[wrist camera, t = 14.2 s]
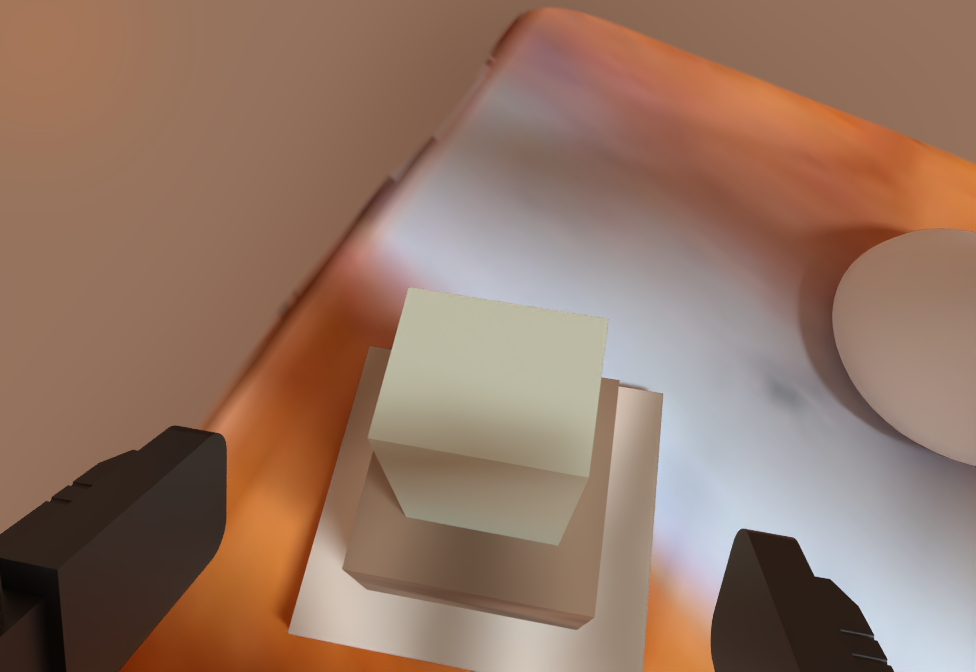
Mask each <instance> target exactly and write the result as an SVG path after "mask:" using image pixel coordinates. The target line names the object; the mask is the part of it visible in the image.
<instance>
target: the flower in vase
mask: <svg viewBox="0 0 976 672" xmlns="http://www.w3.org/2000/svg"><path fill="white" fill-rule="evenodd" d="M832 320H833V332H834V337H835V342H836V346H837V349H838V352H839V355H840V357H841V360H842V362H843V365H844V367H845V369H846V371H847V373H848V375H849V377H850V379H851V380H852V382H853V384H854V385H855V387H856V388H857V390H858V391H859V393H860V394H861V395H862V397H863V398H864V399H865V400H866V401H867V403H868V404H869V405H870V406H871V407H872V408H873V409H874V410H875V411H876V412H877V413H878V414H879V415H880V416H881V417H882V418H883V419H884V420H885V421H887V422H888V423H889V424H890V425H891V426H893V427H894V428H895V429H896V430H898V431H899V432H901V433H902V434H904V435H905V436H907V437H908V438H910V439H911V440H913V441H914V442H916V443H918V444H920V445H922V446H924V447H926V448H928V449H930V450H932V451H934V452H936V453H938V454H940V455H943V456H945V457H948V458H950V459H953V460H956V461H959V462H963V463H966V464H970V465H973V466H976V232H972V231H965V230H958V229H940V228H938V229H925V230H919V231H914V232H909V233H906V234H903V235H900V236H897V237H894V238H891V239H889V240H886V241H884V242H882V243H880V244H878V245H876V246H874V247H872V248H870V249H869V250H867V251H866V252H865V253H863V254H862V255H860V256H859V257H858V258H857V259H856V260H855V261H854V262H853V263H852V264H851V265H850V267H849V268H848V269H847V271H846V272H845V274H844V275H843V277H842V279H841V281H840V283H839V285H838V287H837V291H836V294H835V298H834V303H833V312H832Z"/></svg>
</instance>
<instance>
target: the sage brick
mask: <svg viewBox="0 0 976 672" xmlns="http://www.w3.org/2000/svg"><path fill="white" fill-rule="evenodd" d="M608 320H609V319H605V318H599V317H593V316H586V315H580V314H574V313H568V312H561V311H555V310H549V309H543V308H536V307H530V306H524V305H518V304H511V303H505V302H499V301H492V300H486V299H480V298H474V297H467V296H461V295H455V294H449V293H442V292H436V291H430V290H424V289H417V288H411V287H409V288H408V292H407V296H406V299H405V303H404V307H403V310H402V314H401V317H400V321H399V325H398V328H397V332H396V336H395V339H394V343H393V347H392V350H391V354H390V357H389V361H388V365H387V368H386V372H385V376H384V379H383V383H382V387H381V390H380V394H379V398H378V401H377V405H376V408H375V412H374V416H373V419H372V423H371V427H370V430H369V434H368V440H369V442H370V444H371V446H372V448H373V450H374V453H375V455H376V457H377V459H378V461H379V463H380V465H381V467H382V469H383V471H384V473H385V475H386V477H387V479H388V481H389V483H390V485H391V487H392V489H393V491H394V494H395V496H396V498H397V500H398V502H399V504H400V506H401V508H402V510H403V512H404V514H405V516H406V517H409V518H414V519H419V520H425V521H430V522H435V523H441V524H446V525H451V526H457V527H462V528H467V529H472V530H478V531H483V532H488V533H494V534H499V535H504V536H510V537H515V538H520V539H525V540H531V541H536V542H541V543H547V544H552V545H557V546H558V545H559V542H560V540H561V538H562V536H563V534H564V531H565V529H566V527H567V525H568V523H569V521H570V518H571V516H572V514H573V512H574V510H575V507H576V505H577V503H578V501H579V499H580V496H581V494H582V492H583V490H584V488H585V485H586V483H587V481H588V479H589V473H590V465H591V457H592V449H593V441H594V433H595V425H596V417H597V409H598V400H599V392H600V384H601V376H602V368H603V360H604V352H605V344H606V336H607V328H608Z"/></svg>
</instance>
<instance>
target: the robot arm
mask: <svg viewBox="0 0 976 672" xmlns="http://www.w3.org/2000/svg"><path fill="white" fill-rule="evenodd" d="M226 474H227V449H226V441H225V439H224V437H223V435H221V434H219V433H215V432H209V431H203V430H198V429H192V428H187V427H181V426H171V427H169V428H168V429H166V430H165V431H164V432H162V433H161V434H160V435H158V436H157V437H156V438H155V439H153V440H152V441H151V442H149V443H148V444H147V445H145V446H144V447H143V448H141V449H140V450H139V451H136V450H131V451H128V452H126V453H123V454H121V455H118V456H116V457H114V458H111V459H108V460H106V461H103V462H100V463H98V464H97V465H96V466H94V467H93V468H91V469H90V470H89V471H87V472H86V473H84V474H83V475H82V476H80V477H79V478H77V479H76V480H75V481H73V485H72V486H69V485H68V486H67V487H65V488H64V489H62V490H61V491H60V492H58V493H57V494H55V495H54V496H53V497H52V499H51V501H50V502H47V501H46V502H44V503H43V504H42V505H40V506H39V507H37V508H36V509H35V510H33V511H32V512H31V513H29V514H28V515H26V516H25V517H24V518H22V519H21V520H20V521H18V522H17V523H15V524H14V525H13V526H11V527H10V528H9V529H7V530H6V531H4V532H3V533H2V534H0V672H119V670H120V669H121V668H122V667H123V666H124V664H125V663H126V662H127V661H128V660H129V658H130V657H131V656H132V655H133V654H134V652H135V651H136V650H137V649H138V648H139V646H140V645H141V644H142V643H143V642H144V640H145V639H146V638H147V637H148V636H149V634H150V633H151V632H152V631H153V630H154V628H155V627H156V626H157V625H158V624H159V622H160V621H161V620H162V619H163V618H164V616H165V615H166V614H167V613H168V612H169V610H170V609H171V608H172V607H173V606H174V604H175V603H176V602H177V601H178V600H179V598H180V597H181V596H182V595H183V594H184V592H185V591H186V590H187V589H188V588H189V586H190V585H191V584H192V583H193V582H194V580H195V579H196V578H197V577H198V576H199V574H200V573H201V572H202V571H203V570H204V568H205V567H206V566H207V565H208V564H209V562H210V561H211V560H212V559H213V557H214V556H215V554H216V552H217V550H218V548H219V546H220V544H221V541H222V538H223V535H224V531H225V525H226ZM711 654H712V661H713V665H714V669H715V672H894V671H893V669H892V667H891V666H889V665H887V658H886V656H885V654H884V652H883V650H882V649H881V647H880V645H879V643H878V641H875V640H874V634H873V632H872V630H871V628H870V627H869V625H868V623H867V621H866V619H865V617H864V616H863V614H862V612H861V610H860V608H859V606H858V605H857V604H855V603H854V602H853V601H852V600H851V599H850V598H849V597H848V596H847V595H846V594H845V593H844V592H843V591H842V590H841V589H840V588H839V587H838V586H837V585H836V584H835V583H834V582H833V581H831V580H830V579H826V578H820V577H815V576H814V574H813V572H812V570H811V568H810V566H809V564H808V562H807V560H806V558H805V556H804V554H803V552H802V550H801V548H800V546H799V544H798V542H797V540H796V539H795V538H793V537H787V536H782V535H776V534H771V533H765V532H759V531H754V530H748V529H740V530H739V531H738V533H737V534H736V537H735V539H734V542H733V545H732V549H731V552H730V556H729V560H728V563H727V567H726V571H725V574H724V578H723V581H722V585H721V589H720V592H719V596H718V599H717V603H716V607H715V610H714V614H713V620H712V627H711Z"/></svg>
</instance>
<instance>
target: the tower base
mask: <svg viewBox="0 0 976 672" xmlns="http://www.w3.org/2000/svg"><path fill="white" fill-rule="evenodd" d="M391 350H392V349H386V348H380V347H374V346H369V349H368V353H367V356H366V360H365V363H364V367H363V370H362V374H361V377H360V381H359V384H358V388H357V391H356V395H355V398H354V402H353V405H352V409H351V412H350V416H349V419H348V423H347V427H346V430H345V434H344V437H343V441H342V444H341V448H340V451H339V455H338V458H337V462H336V465H335V469H334V472H333V476H332V479H331V483H330V486H329V490H328V493H327V497H326V500H325V504H324V507H323V511H322V514H321V518H320V521H319V525H318V528H317V532H316V535H315V539H314V542H313V546H312V549H311V553H310V556H309V560H308V563H307V567H306V570H305V574H304V577H303V581H302V584H301V588H300V591H299V595H298V598H297V602H296V605H295V609H294V613H293V616H292V620H291V623H290V627H289V630H288V634H292V635H296V636H301V637H306V638H311V639H316V640H321V641H326V642H331V643H336V644H341V645H346V646H351V647H356V648H361V649H366V650H371V651H376V652H381V653H386V654H391V655H396V656H401V657H406V658H411V659H416V660H421V661H426V662H431V663H436V664H441V665H446V666H451V667H456V668H461V669H466V670H471V671H476V672H643V661H644V647H645V634H646V620H647V607H648V593H649V580H650V566H651V552H652V539H653V525H654V512H655V498H656V485H657V471H658V457H659V444H660V430H661V417H662V403H663V393H656V392H650V391H644V390H638V389H632V388H626V387H620V386H619V380H614V379H608V378H601V384H600V392H599V400H598V409H597V417H596V425H595V433H594V441H593V449H592V457H591V465H590V473H589V479H588V481H587V483H586V485H585V488H584V490H583V492H582V494H581V496H580V499H579V501H578V503H577V505H576V507H575V510H574V512H573V514H572V516H571V518H570V521H569V523H568V525H567V527H566V529H565V531H564V534H563V536H562V538H561V540H560V542H559V545H558V546H557V545H552V544H547V543H541V542H536V541H531V540H525V539H520V538H515V537H510V536H504V535H499V534H494V533H488V532H483V531H478V530H472V529H467V528H462V527H457V526H451V525H446V524H441V523H435V522H430V521H425V520H419V519H414V518H409V517H406V516H405V514H404V512H403V510H402V508H401V506H400V504H399V502H398V500H397V498H396V496H395V494H394V491H393V489H392V487H391V485H390V483H389V481H388V479H387V477H386V475H385V473H384V471H383V469H382V467H381V465H380V463H379V461H378V459H377V457H376V455H375V453H374V450H373V448H372V446H371V444H370V442H369V440H368V434H369V430H370V427H371V423H372V419H373V416H374V412H375V408H376V405H377V401H378V398H379V394H380V390H381V387H382V383H383V379H384V376H385V372H386V368H387V365H388V361H389V357H390V354H391Z"/></svg>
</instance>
